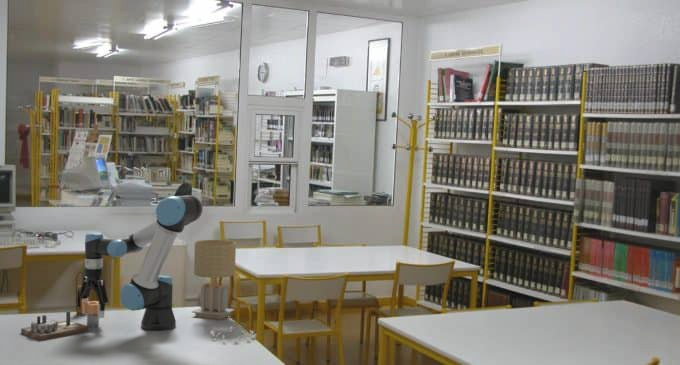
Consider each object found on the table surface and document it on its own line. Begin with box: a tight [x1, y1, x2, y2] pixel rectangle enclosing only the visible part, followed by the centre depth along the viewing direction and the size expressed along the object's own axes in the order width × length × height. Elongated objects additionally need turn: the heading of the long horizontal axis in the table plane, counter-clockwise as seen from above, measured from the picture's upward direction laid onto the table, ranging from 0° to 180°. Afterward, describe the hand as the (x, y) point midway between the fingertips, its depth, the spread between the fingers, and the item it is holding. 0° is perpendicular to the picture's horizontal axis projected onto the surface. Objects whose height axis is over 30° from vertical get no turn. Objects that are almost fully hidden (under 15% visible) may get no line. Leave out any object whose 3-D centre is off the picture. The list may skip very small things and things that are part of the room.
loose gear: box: [82, 300, 99, 315], centre depth 335 cm, size 9×9×4 cm
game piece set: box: [209, 325, 258, 344], centre depth 322 cm, size 19×20×4 cm
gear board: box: [20, 310, 90, 341], centre depth 322 cm, size 16×22×8 cm
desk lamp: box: [191, 239, 237, 320], centre depth 361 cm, size 20×20×35 cm
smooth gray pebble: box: [86, 314, 100, 327], centre depth 336 cm, size 5×5×6 cm
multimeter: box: [75, 269, 91, 317], centre depth 358 cm, size 15×10×20 cm
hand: (93, 315), depth 335 cm, fingers open, 12 cm apart
